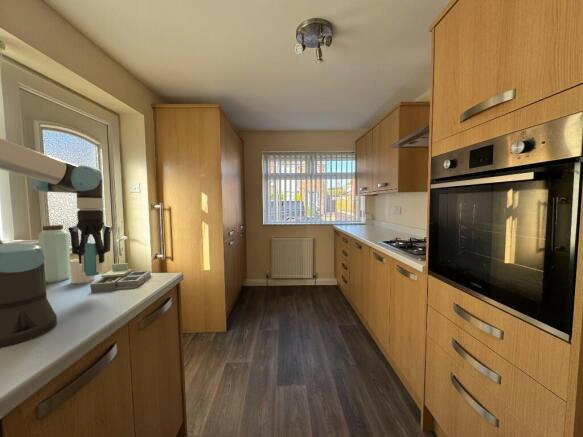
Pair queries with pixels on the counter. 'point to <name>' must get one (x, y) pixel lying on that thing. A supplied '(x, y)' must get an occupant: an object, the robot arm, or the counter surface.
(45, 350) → the counter surface
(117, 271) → the cover
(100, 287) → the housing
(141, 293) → the counter surface
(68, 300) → the counter surface
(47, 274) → the water bottle
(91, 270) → the pin
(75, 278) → the mug
